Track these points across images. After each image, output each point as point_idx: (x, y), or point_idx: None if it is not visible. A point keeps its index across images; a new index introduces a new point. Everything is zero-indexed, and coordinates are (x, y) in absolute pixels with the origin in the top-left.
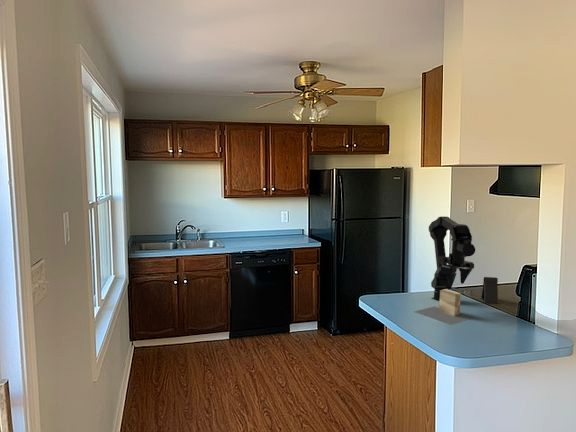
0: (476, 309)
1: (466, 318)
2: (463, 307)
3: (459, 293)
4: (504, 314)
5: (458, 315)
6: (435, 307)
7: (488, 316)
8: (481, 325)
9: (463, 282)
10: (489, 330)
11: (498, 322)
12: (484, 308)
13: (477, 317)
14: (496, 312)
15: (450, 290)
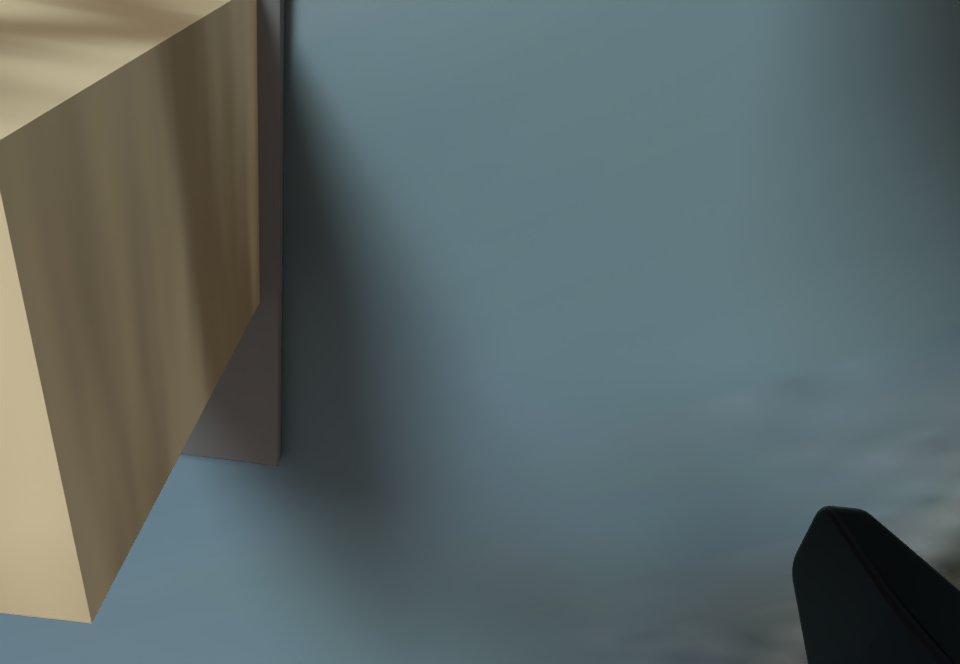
0: (799, 334)
1: (203, 427)
2: (774, 142)
3: (31, 615)
4: None
5: None
6: None
7: (575, 530)
8: (185, 580)
9: (809, 634)
10: (129, 657)
11: (445, 641)
12: (940, 389)
13: (418, 469)
14: None
15: (12, 360)
